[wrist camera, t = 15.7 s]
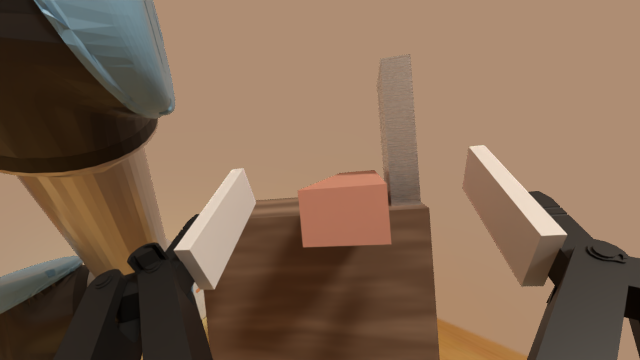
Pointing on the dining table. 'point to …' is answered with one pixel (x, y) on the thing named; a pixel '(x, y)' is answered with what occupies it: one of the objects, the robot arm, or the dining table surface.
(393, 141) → the bookend
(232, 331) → the wooden block pedestal
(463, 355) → the dining table surface
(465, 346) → the dining table surface
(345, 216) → the terracotta clay brick
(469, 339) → the dining table surface
